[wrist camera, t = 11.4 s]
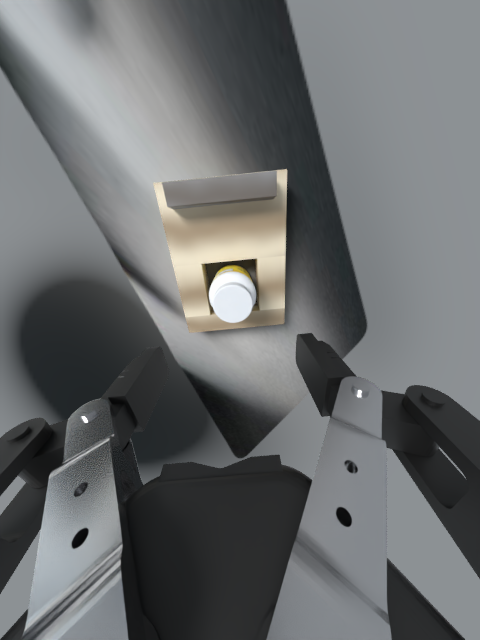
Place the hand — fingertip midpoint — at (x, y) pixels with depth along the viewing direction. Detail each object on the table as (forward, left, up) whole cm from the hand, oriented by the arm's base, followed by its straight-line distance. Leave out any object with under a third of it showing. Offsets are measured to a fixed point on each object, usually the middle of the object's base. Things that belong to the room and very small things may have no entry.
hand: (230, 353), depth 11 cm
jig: (-3, 0, -18) cm, 18 cm away
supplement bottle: (0, 0, -18) cm, 18 cm away
